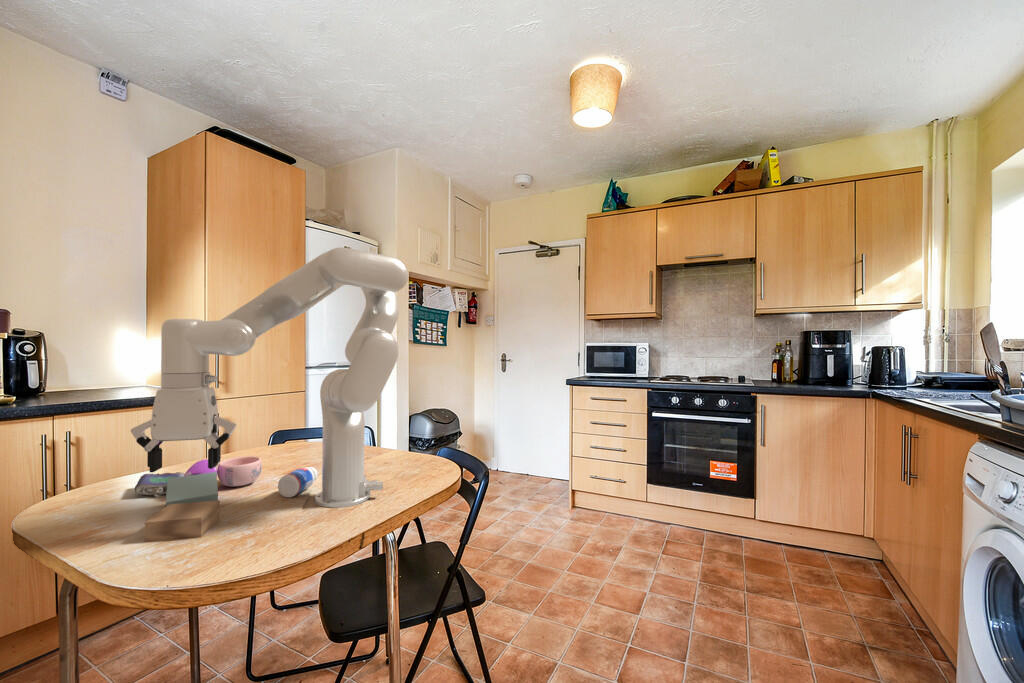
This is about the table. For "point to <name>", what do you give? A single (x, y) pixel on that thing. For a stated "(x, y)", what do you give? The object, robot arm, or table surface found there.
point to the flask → (155, 483)
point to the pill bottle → (297, 481)
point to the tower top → (192, 489)
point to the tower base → (182, 521)
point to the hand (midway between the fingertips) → (184, 468)
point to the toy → (200, 468)
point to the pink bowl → (239, 470)
